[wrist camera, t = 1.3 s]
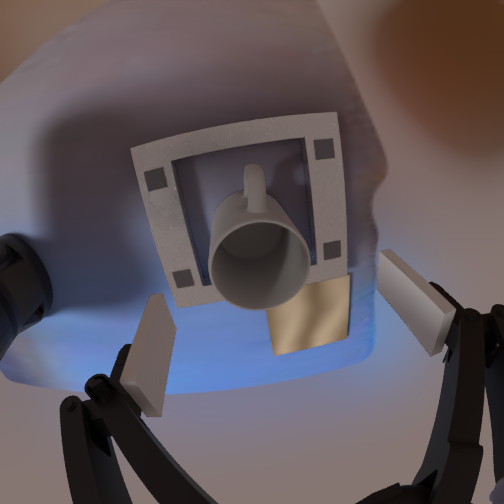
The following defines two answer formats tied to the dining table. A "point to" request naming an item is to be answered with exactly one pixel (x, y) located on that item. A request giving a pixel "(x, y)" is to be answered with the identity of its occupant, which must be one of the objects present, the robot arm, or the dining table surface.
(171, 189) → the grey square frame
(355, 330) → the dining table surface
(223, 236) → the mug
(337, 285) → the coaster
